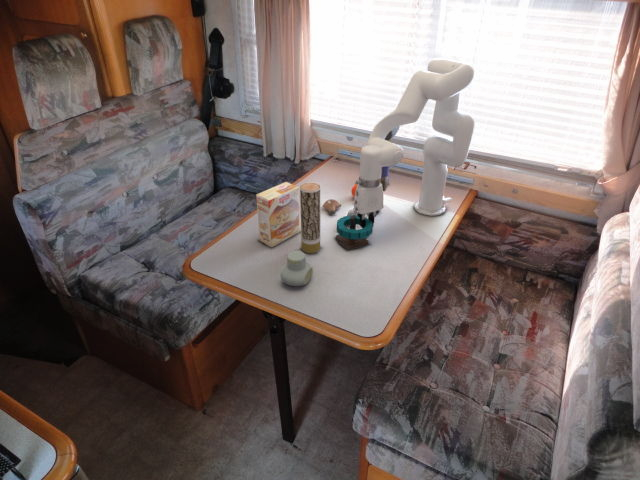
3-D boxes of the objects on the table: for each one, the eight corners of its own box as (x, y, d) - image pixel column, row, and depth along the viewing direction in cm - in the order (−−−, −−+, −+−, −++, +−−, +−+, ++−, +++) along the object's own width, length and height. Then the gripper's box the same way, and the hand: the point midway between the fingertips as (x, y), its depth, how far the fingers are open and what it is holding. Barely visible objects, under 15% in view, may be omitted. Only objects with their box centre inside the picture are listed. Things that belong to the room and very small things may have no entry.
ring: (360, 218, 172) (361, 212, 170) (379, 234, 162) (379, 228, 160) (330, 225, 167) (330, 219, 166) (347, 242, 157) (347, 236, 155)
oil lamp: (317, 213, 187) (333, 219, 183) (316, 205, 184) (332, 211, 180) (330, 202, 192) (345, 208, 188) (329, 195, 190) (345, 200, 186)
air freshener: (292, 268, 152) (291, 244, 147) (315, 274, 149) (314, 249, 144) (278, 286, 144) (276, 261, 138) (301, 293, 141) (300, 267, 136)
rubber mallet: (388, 191, 203) (393, 126, 187) (372, 188, 205) (376, 124, 189) (395, 180, 212) (401, 118, 196) (380, 177, 215) (385, 116, 199)
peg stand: (356, 233, 172) (357, 209, 166) (368, 244, 165) (370, 219, 159) (335, 238, 168) (336, 214, 163) (347, 250, 162) (348, 225, 156)
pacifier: (335, 224, 177) (348, 228, 174) (335, 210, 174) (349, 214, 171) (345, 217, 182) (358, 220, 179) (345, 203, 179) (358, 207, 176)
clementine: (347, 195, 199) (347, 181, 195) (361, 192, 201) (361, 178, 197) (355, 203, 193) (356, 188, 189) (369, 200, 195) (370, 185, 191)
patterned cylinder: (306, 256, 158) (305, 192, 145) (298, 246, 164) (296, 184, 150) (323, 251, 161) (323, 188, 148) (315, 242, 166) (314, 181, 153)
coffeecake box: (271, 247, 163) (268, 200, 152) (259, 240, 167) (254, 194, 157) (300, 232, 172) (299, 186, 162) (287, 225, 176) (285, 180, 166)
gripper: (354, 189, 150) (352, 236, 160) (395, 181, 156) (390, 226, 166) (344, 181, 156) (342, 226, 166) (383, 173, 162) (379, 217, 172)
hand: (366, 225), depth 166 cm, fingers closed on ring, 2 cm apart
